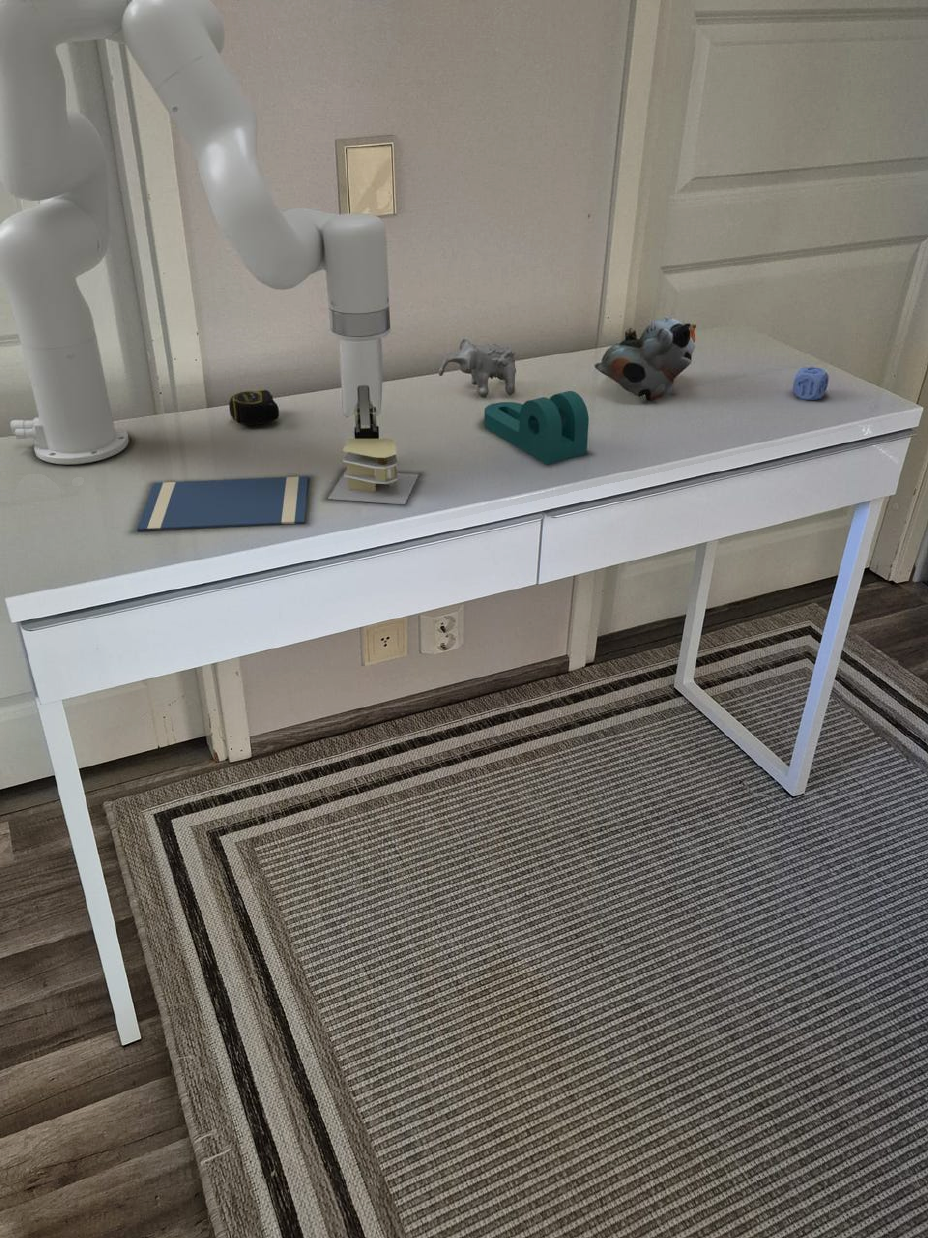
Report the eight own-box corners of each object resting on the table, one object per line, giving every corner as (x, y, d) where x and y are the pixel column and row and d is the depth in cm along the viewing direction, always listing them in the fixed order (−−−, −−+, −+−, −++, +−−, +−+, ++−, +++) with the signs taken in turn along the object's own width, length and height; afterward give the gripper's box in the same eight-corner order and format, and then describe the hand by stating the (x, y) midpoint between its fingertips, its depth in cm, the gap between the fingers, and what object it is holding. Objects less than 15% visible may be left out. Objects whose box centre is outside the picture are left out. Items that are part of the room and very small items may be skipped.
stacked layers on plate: (327, 499, 131) (324, 459, 128) (345, 470, 138) (342, 431, 135) (404, 504, 129) (403, 464, 126) (418, 474, 137) (417, 435, 134)
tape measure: (281, 426, 151) (278, 402, 149) (234, 432, 149) (231, 407, 147) (274, 410, 156) (271, 386, 154) (228, 415, 155) (225, 391, 153)
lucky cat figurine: (613, 368, 171) (660, 293, 165) (670, 409, 168) (721, 335, 162) (580, 368, 158) (631, 287, 152) (642, 413, 155) (696, 332, 149)
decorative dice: (790, 396, 160) (795, 371, 158) (802, 389, 163) (806, 364, 161) (815, 402, 158) (819, 377, 156) (826, 395, 161) (830, 370, 159)
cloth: (137, 531, 123) (136, 528, 123) (154, 484, 134) (153, 482, 134) (304, 523, 125) (304, 521, 125) (308, 478, 136) (308, 475, 136)
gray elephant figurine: (527, 393, 162) (528, 346, 158) (461, 408, 157) (461, 359, 153) (496, 376, 168) (497, 330, 164) (432, 390, 163) (431, 342, 159)
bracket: (586, 453, 142) (590, 399, 138) (546, 464, 139) (549, 409, 135) (513, 413, 155) (514, 362, 151) (475, 422, 152) (475, 370, 148)
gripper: (331, 304, 134) (341, 436, 144) (328, 339, 122) (339, 481, 132) (388, 302, 135) (394, 434, 145) (391, 337, 122) (397, 479, 132)
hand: (368, 456), depth 138 cm, fingers closed
